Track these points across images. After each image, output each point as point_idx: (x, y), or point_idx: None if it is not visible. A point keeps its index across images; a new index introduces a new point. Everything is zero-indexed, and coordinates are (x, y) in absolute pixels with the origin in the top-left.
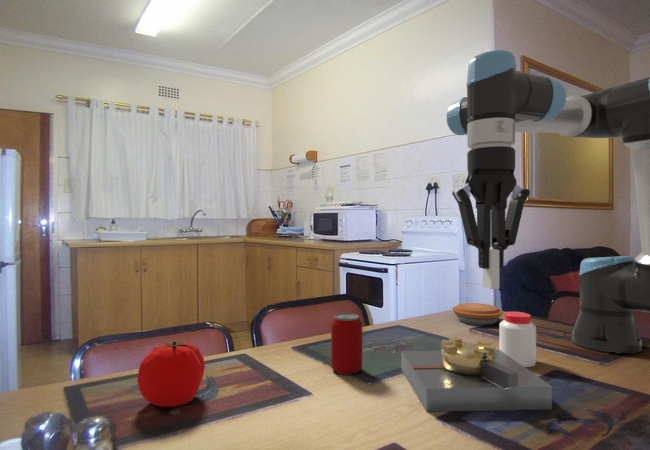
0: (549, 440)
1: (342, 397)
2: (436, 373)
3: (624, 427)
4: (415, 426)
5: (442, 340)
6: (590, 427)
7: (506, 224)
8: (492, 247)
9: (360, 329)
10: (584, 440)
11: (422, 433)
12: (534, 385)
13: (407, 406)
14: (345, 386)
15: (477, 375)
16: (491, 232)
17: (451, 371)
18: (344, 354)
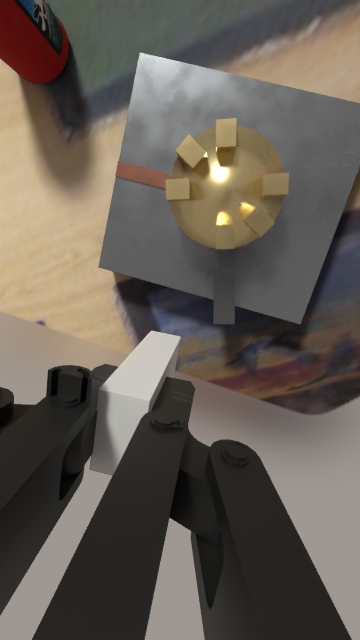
0: (215, 376)
1: (10, 181)
2: (146, 211)
3: (338, 385)
4: (80, 296)
5: (184, 140)
6: (294, 371)
7: (238, 628)
8: (151, 414)
9: (3, 9)
10: (256, 389)
11: (81, 314)
12: (275, 311)
13: (93, 241)
14: (23, 137)
15: None
16: (110, 485)
17: None
18: (2, 59)
